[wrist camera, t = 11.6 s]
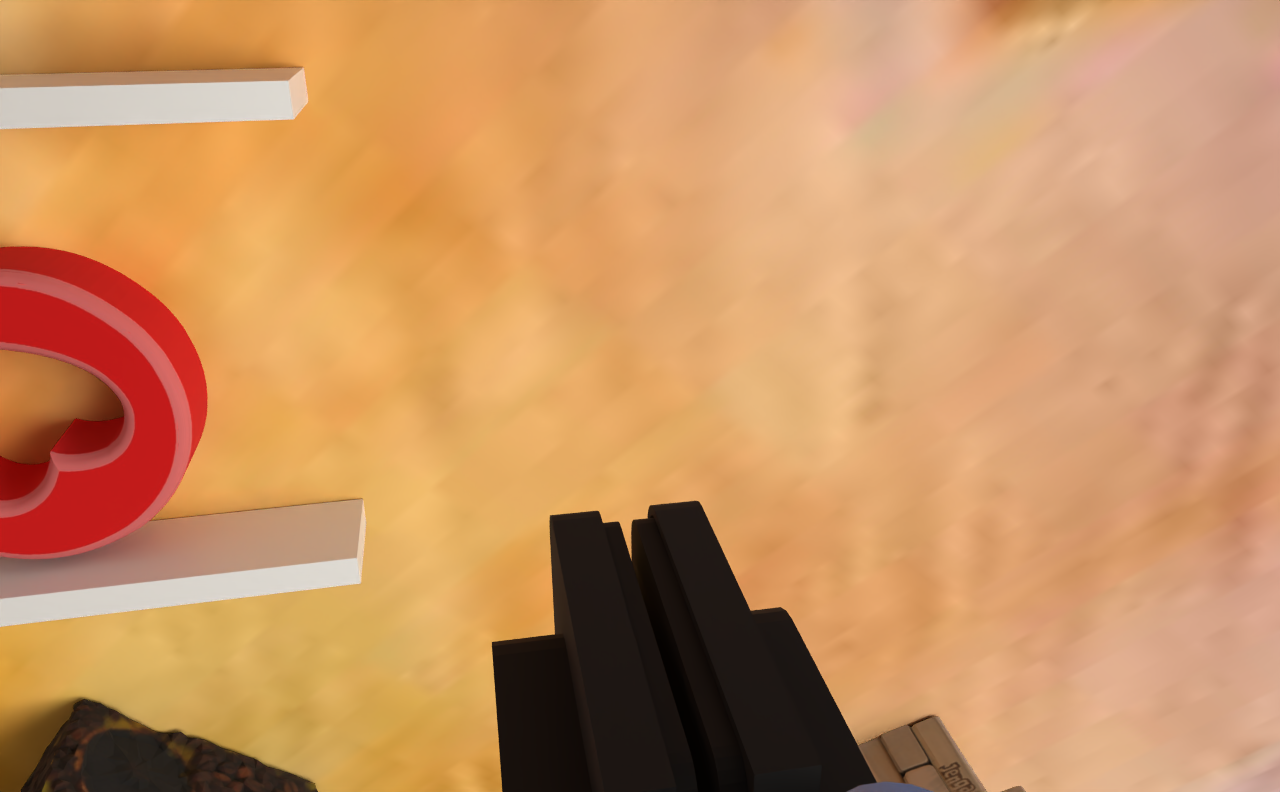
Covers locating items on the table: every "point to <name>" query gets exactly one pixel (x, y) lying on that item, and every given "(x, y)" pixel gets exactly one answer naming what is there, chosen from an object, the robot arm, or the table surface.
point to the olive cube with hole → (146, 760)
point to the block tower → (922, 759)
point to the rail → (200, 545)
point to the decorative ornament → (97, 450)
